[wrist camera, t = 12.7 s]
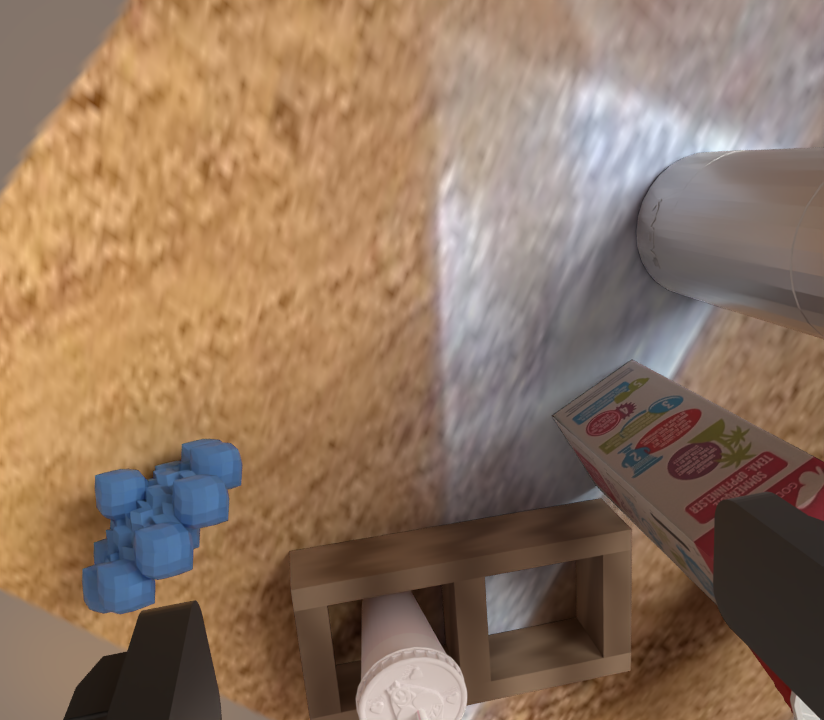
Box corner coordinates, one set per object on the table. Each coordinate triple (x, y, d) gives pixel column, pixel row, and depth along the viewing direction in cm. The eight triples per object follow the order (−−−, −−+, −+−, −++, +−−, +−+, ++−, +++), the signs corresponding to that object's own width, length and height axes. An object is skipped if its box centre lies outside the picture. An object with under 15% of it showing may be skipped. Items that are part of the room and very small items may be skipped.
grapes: (184, 363, 42) (149, 436, 30) (271, 431, 44) (269, 524, 32) (57, 502, 42) (-24, 624, 31) (149, 563, 44) (105, 698, 33)
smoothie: (384, 660, 50) (423, 839, 36) (322, 608, 48) (340, 777, 34) (451, 601, 49) (515, 760, 36) (391, 546, 47) (436, 692, 34)
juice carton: (673, 432, 49) (967, 626, 28) (596, 486, 49) (833, 720, 28) (632, 359, 47) (916, 510, 26) (551, 415, 47) (771, 612, 26)
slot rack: (601, 498, 49) (632, 529, 45) (602, 629, 52) (630, 670, 48) (289, 551, 46) (290, 590, 42) (309, 688, 49) (312, 738, 45)
